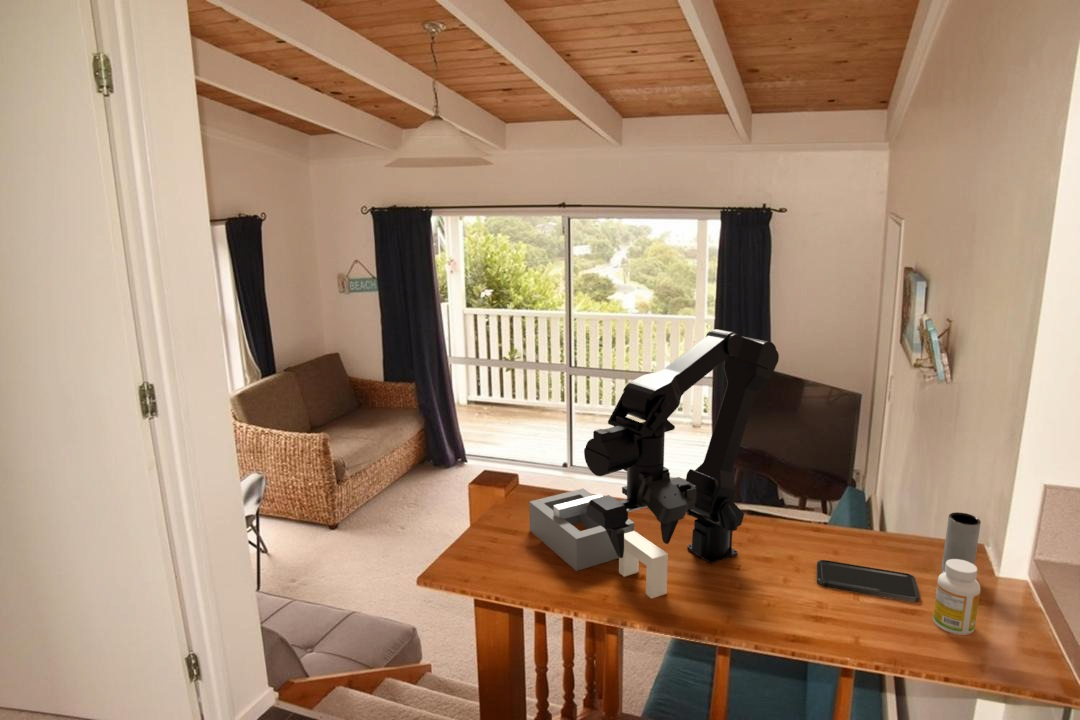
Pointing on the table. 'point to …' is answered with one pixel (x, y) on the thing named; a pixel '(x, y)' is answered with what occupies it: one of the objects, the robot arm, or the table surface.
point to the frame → (572, 532)
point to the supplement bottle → (957, 597)
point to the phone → (867, 580)
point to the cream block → (651, 557)
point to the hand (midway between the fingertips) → (643, 549)
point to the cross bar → (573, 507)
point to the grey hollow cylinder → (961, 538)
